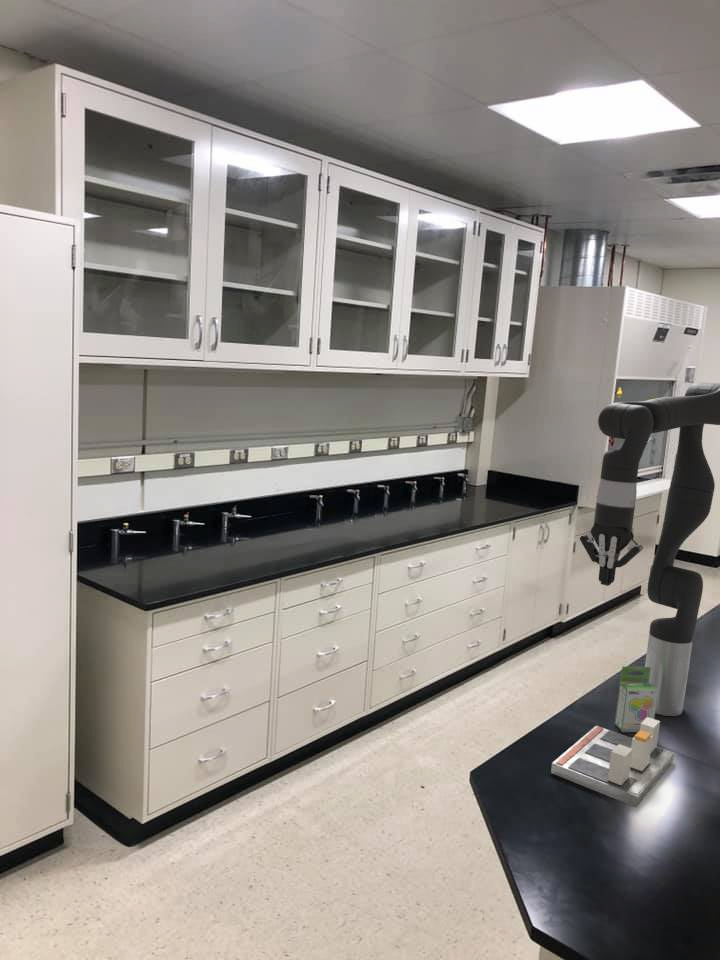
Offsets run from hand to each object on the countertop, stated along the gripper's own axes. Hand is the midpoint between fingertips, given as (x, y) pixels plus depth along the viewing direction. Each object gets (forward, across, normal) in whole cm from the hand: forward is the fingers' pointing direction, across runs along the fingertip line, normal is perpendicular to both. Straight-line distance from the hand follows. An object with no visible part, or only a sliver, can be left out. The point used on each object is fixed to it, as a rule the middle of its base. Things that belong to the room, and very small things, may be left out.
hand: (605, 584), depth 159 cm
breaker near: (+30, -14, +20) cm, 38 cm away
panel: (+32, -10, +12) cm, 36 cm away
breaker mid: (+30, -15, +12) cm, 35 cm away
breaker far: (+30, -14, +4) cm, 33 cm away
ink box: (+32, -7, -8) cm, 34 cm away
